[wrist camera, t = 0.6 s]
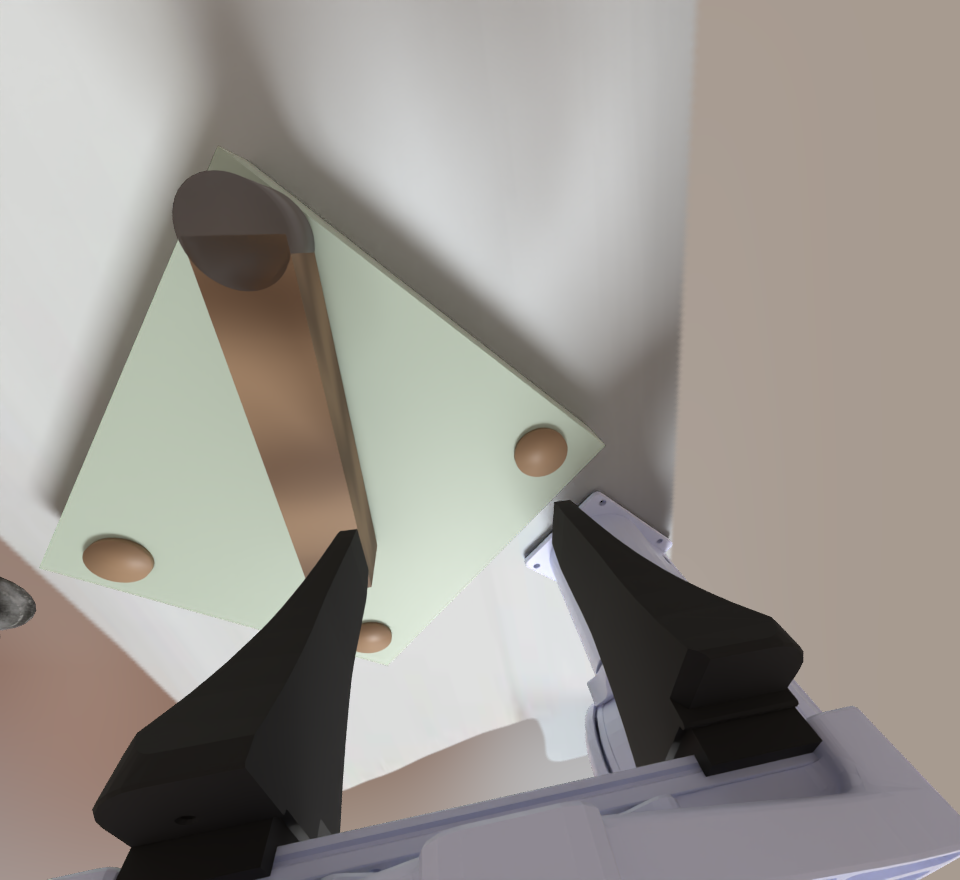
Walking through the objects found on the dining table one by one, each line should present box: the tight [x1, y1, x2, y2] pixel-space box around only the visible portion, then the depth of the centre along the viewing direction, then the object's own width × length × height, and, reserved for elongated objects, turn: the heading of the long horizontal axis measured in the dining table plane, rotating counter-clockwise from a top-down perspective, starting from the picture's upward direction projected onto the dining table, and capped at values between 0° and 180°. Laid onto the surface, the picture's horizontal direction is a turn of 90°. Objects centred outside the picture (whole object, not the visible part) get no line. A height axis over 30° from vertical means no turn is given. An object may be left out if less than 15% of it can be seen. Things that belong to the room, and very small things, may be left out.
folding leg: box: [172, 170, 377, 588], centre depth 16 cm, size 18×3×3 cm, turn 1°
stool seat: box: [39, 146, 606, 666], centre depth 21 cm, size 21×23×3 cm
